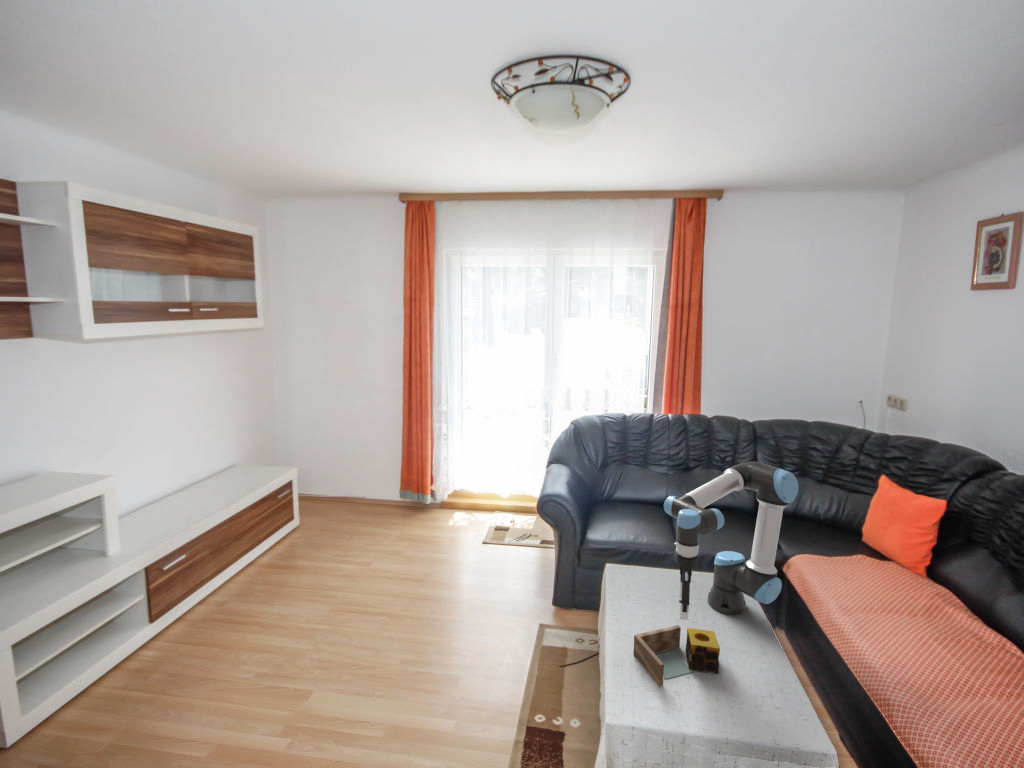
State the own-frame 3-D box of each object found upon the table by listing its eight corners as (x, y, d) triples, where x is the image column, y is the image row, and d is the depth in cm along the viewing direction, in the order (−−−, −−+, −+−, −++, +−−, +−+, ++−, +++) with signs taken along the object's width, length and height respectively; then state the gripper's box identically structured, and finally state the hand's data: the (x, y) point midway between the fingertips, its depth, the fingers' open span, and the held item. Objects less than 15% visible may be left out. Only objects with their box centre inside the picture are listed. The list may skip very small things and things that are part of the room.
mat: (673, 652, 189) (673, 651, 189) (692, 672, 179) (692, 671, 179) (648, 658, 186) (648, 657, 186) (665, 679, 176) (665, 678, 176)
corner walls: (677, 644, 194) (678, 625, 193) (705, 673, 178) (707, 653, 177) (633, 654, 188) (634, 635, 187) (659, 686, 173) (660, 665, 171)
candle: (718, 675, 178) (721, 649, 176) (688, 670, 180) (690, 644, 178) (713, 655, 188) (715, 631, 186) (684, 651, 190) (686, 627, 188)
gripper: (675, 536, 193) (672, 587, 196) (675, 568, 169) (672, 626, 173) (696, 539, 191) (693, 591, 194) (699, 572, 167) (696, 630, 171)
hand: (683, 607), depth 183 cm, fingers open, 13 cm apart
